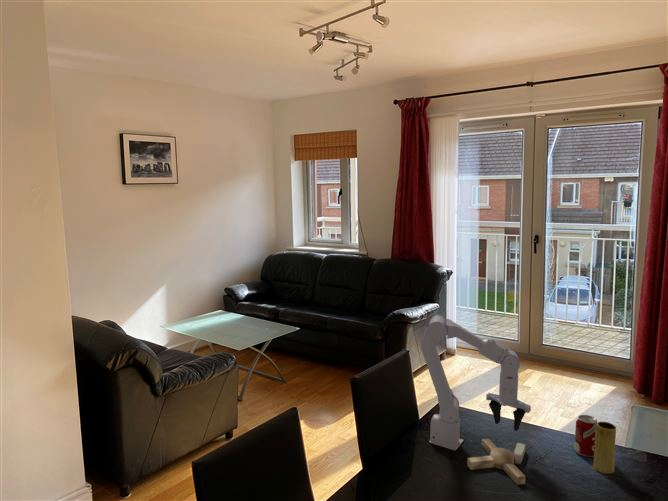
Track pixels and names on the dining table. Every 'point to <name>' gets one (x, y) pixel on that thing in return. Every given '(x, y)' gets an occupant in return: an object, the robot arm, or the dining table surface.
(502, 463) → the stool base
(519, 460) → the hinged leg
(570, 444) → the dining table surface
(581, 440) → the soda can
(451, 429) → the robot arm
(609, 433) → the vase
